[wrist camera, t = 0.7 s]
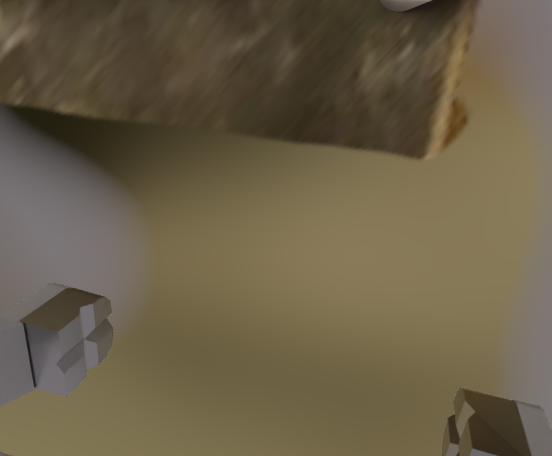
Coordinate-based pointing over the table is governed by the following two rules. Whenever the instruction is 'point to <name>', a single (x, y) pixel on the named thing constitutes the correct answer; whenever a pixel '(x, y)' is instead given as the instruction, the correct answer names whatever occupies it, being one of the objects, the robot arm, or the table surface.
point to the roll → (402, 4)
